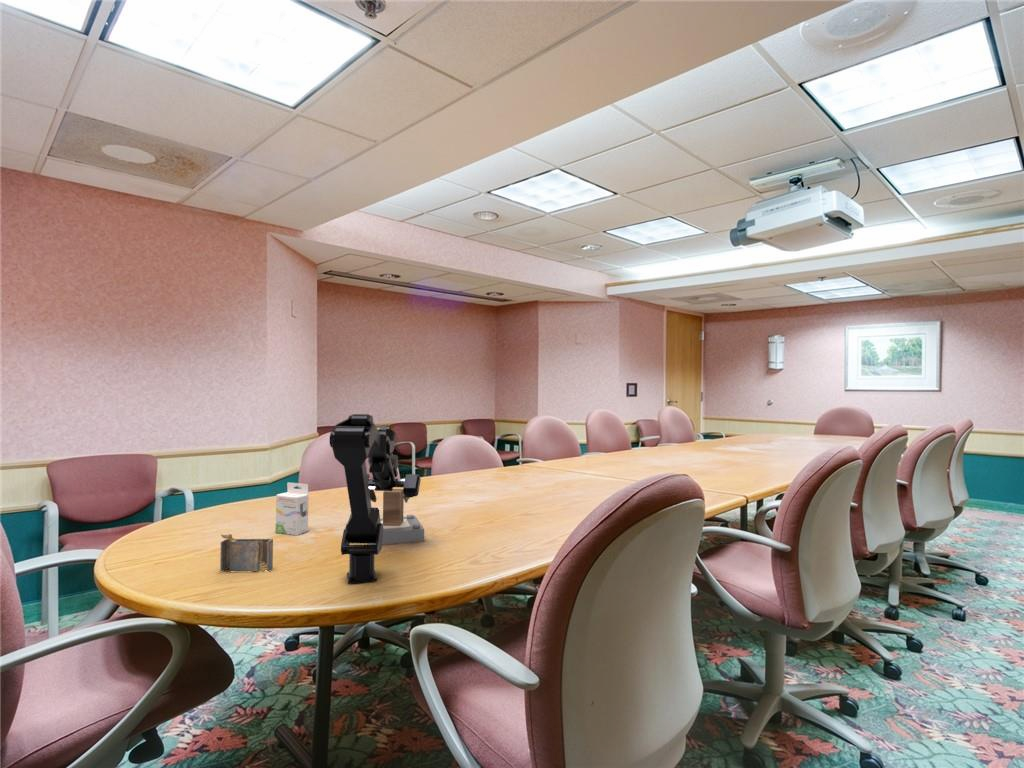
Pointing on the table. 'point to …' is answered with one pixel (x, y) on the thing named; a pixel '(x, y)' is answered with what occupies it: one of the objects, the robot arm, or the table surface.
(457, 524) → the table surface
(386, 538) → the base brick
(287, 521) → the ink box
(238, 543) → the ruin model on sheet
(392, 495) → the walnut brick
